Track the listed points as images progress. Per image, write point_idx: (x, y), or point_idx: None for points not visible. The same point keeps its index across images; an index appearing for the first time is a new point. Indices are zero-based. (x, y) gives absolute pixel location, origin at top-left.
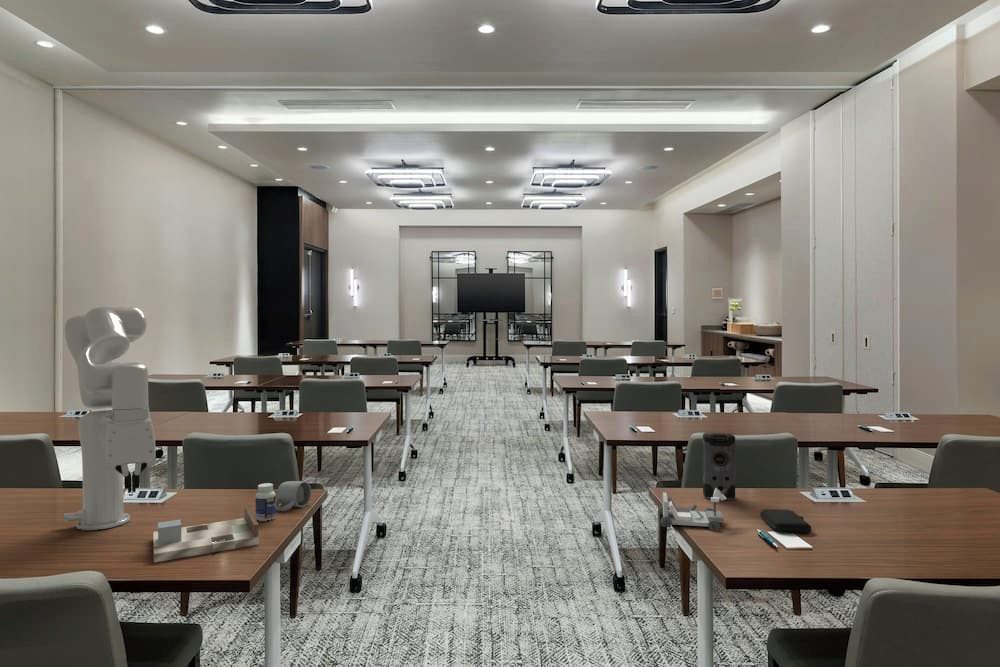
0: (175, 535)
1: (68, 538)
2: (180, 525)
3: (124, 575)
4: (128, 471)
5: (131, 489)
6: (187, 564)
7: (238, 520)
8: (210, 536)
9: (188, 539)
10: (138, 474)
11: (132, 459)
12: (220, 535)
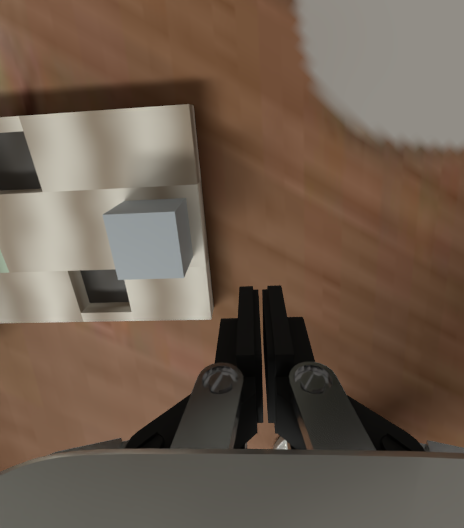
0: (133, 205)
1: (392, 397)
2: (105, 214)
3: (268, 15)
4: (291, 423)
5: (263, 324)
6: (90, 28)
7: (2, 310)
8: (45, 202)
9: (105, 204)
10: (211, 365)
11: (256, 505)
12: (17, 197)
